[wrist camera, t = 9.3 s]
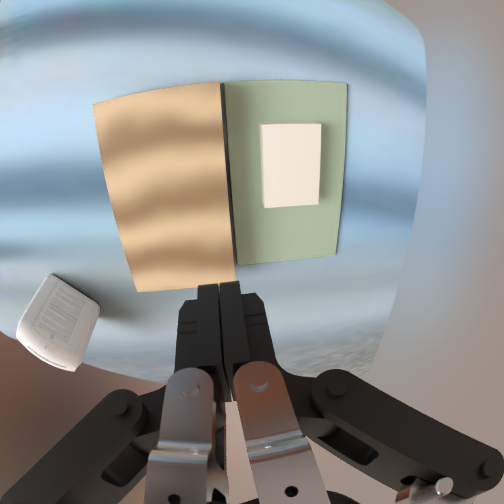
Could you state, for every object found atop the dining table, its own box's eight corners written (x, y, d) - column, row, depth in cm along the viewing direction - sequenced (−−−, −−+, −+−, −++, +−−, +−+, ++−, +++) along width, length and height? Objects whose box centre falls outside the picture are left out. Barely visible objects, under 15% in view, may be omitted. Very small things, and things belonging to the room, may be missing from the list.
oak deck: (107, 101, 24) (92, 104, 21) (219, 82, 25) (219, 81, 22) (143, 272, 36) (137, 292, 33) (233, 264, 37) (235, 283, 34)
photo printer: (42, 286, 35) (9, 345, 25) (48, 268, 34) (11, 329, 24) (95, 319, 40) (74, 383, 30) (104, 304, 38) (82, 371, 28)
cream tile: (321, 123, 27) (314, 121, 28) (262, 124, 26) (259, 122, 28) (318, 204, 31) (312, 197, 33) (264, 208, 31) (262, 201, 33)
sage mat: (224, 82, 25) (224, 82, 25) (345, 83, 26) (346, 83, 26) (237, 263, 37) (237, 265, 37) (334, 253, 38) (335, 255, 38)
